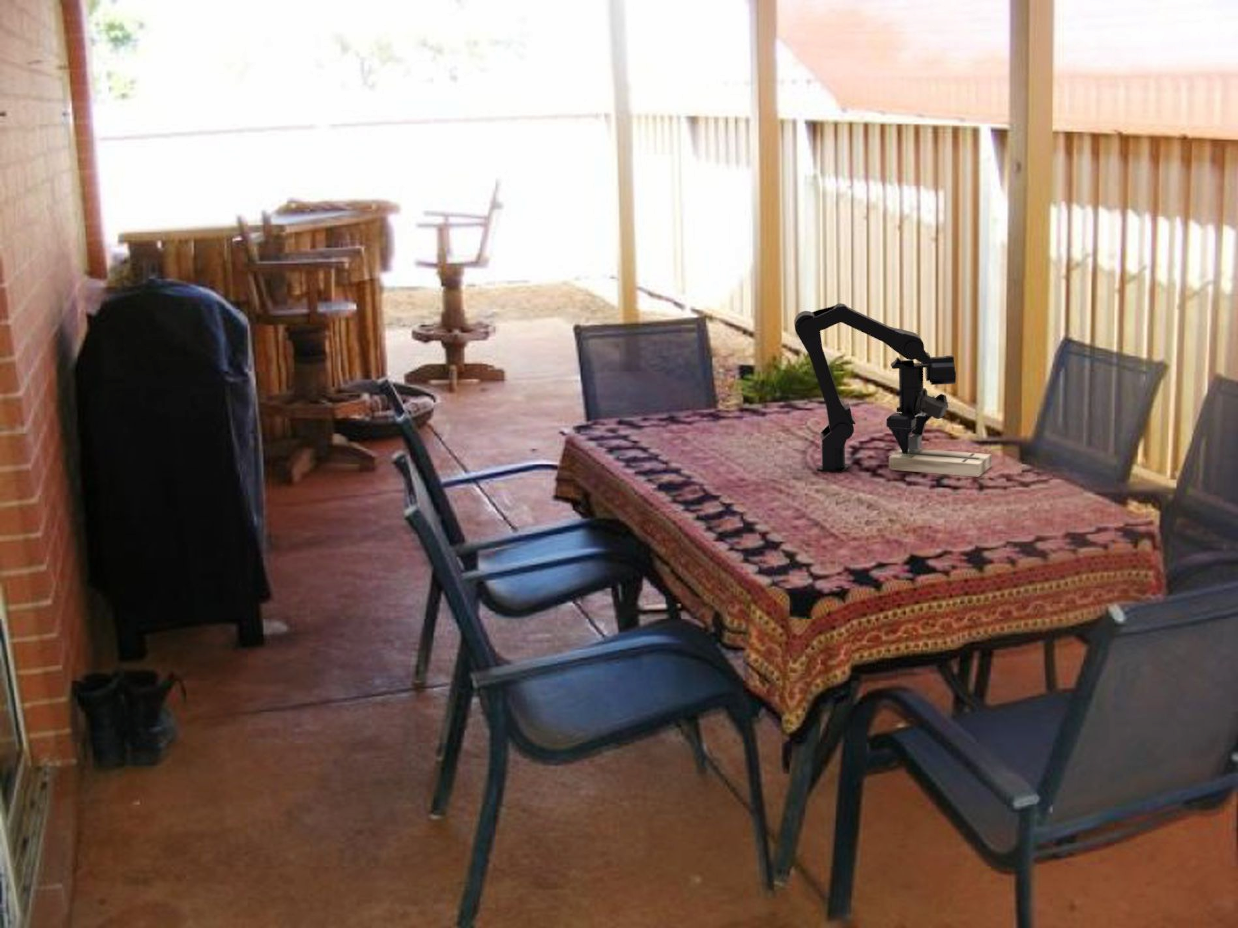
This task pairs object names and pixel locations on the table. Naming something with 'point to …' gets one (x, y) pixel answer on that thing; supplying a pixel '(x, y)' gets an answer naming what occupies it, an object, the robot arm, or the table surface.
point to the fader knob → (915, 442)
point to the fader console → (941, 462)
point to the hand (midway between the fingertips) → (911, 448)
